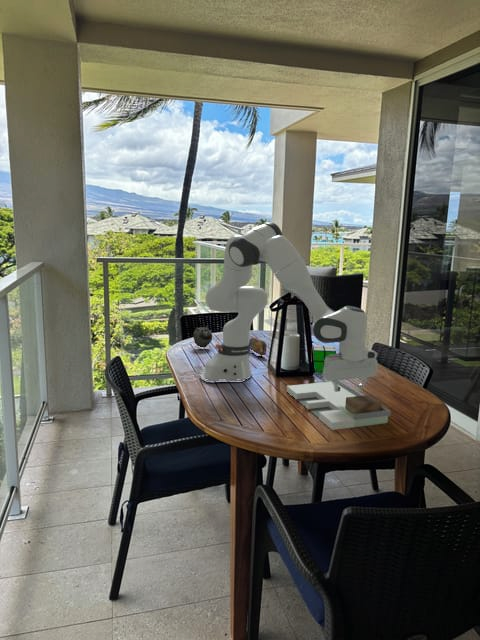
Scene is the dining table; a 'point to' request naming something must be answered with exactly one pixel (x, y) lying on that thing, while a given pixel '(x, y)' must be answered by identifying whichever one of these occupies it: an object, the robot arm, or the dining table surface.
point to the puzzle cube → (321, 355)
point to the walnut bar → (363, 404)
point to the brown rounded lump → (258, 346)
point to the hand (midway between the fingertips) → (348, 390)
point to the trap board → (335, 405)
